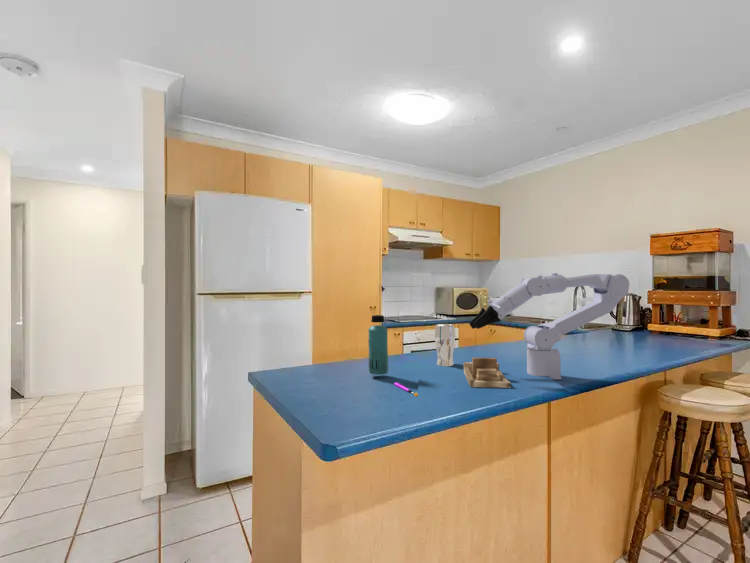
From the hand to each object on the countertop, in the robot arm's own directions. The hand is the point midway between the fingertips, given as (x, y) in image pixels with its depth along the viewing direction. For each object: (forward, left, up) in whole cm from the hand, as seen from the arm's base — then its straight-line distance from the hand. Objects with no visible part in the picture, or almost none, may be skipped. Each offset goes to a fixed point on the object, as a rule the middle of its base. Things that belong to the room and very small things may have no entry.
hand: (473, 326), depth 122 cm
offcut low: (-3, +11, -15) cm, 19 cm away
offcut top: (-2, +11, -13) cm, 17 cm away
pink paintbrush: (+19, +17, -17) cm, 31 cm away
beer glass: (+8, -14, -17) cm, 23 cm away
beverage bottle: (+30, +2, -17) cm, 34 cm away
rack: (-3, +5, -16) cm, 17 cm away
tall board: (-3, +4, -15) cm, 16 cm away
